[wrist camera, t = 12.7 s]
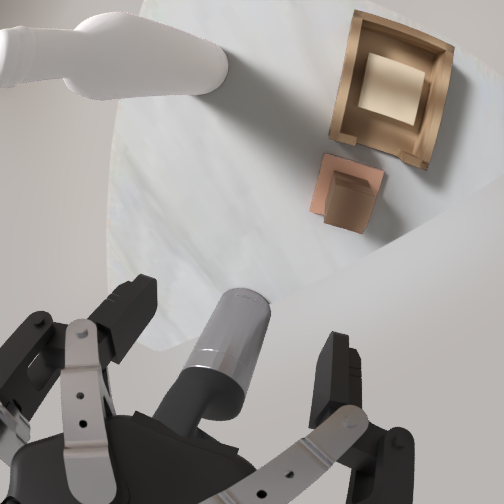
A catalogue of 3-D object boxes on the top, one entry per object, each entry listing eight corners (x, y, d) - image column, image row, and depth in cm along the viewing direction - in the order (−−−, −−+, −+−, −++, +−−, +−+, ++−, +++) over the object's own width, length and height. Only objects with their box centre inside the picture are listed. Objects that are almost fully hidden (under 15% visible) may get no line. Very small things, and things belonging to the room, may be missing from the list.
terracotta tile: (365, 224, 39) (366, 227, 38) (310, 208, 40) (309, 211, 39) (382, 170, 35) (384, 171, 34) (324, 152, 36) (324, 154, 35)
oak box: (415, 162, 33) (426, 170, 29) (328, 134, 34) (328, 138, 30) (440, 52, 25) (454, 46, 20) (351, 20, 26) (354, 9, 22)
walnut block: (367, 180, 35) (375, 197, 29) (357, 211, 37) (362, 234, 31) (334, 170, 35) (335, 184, 29) (324, 202, 38) (323, 222, 32)
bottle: (189, 105, 36) (-16, 151, 11) (166, 60, 34) (-36, 61, 8) (239, 78, 33) (42, 58, 8) (215, 31, 31) (21, -32, 5)
